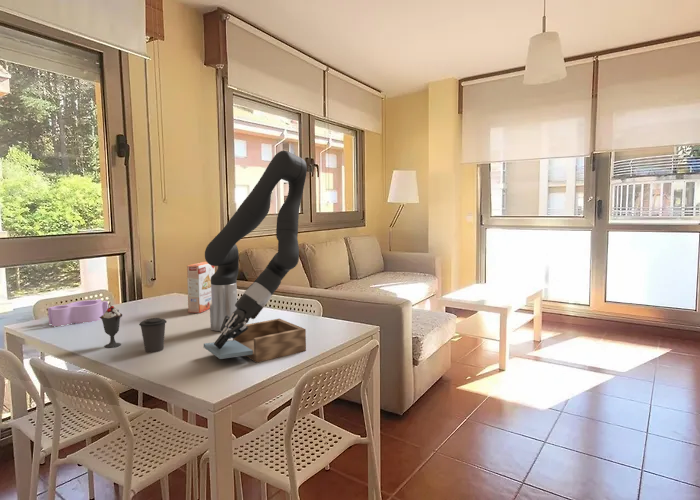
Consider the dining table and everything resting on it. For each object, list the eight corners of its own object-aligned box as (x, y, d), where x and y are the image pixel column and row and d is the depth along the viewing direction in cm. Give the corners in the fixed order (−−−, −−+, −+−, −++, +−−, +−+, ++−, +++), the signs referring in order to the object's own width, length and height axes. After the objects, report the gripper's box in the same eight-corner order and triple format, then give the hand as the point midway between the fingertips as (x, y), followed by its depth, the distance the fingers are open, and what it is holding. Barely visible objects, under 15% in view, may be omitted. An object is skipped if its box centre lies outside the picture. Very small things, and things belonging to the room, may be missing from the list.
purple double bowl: (56, 329, 167) (55, 311, 166) (45, 323, 174) (43, 306, 174) (111, 318, 182) (110, 302, 181) (99, 313, 190) (98, 298, 189)
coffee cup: (140, 355, 136) (138, 323, 135) (140, 347, 143) (139, 317, 142) (168, 351, 139) (166, 321, 138) (167, 344, 146) (166, 315, 145)
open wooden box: (279, 338, 152) (279, 318, 152) (305, 350, 139) (305, 329, 138) (233, 348, 142) (232, 327, 141) (256, 362, 129) (255, 339, 128)
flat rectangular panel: (234, 339, 140) (203, 343, 134) (252, 350, 130) (220, 354, 123) (234, 347, 140) (203, 350, 134) (252, 358, 130) (219, 362, 124)
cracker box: (200, 313, 188) (198, 265, 186) (187, 313, 190) (185, 265, 187) (216, 306, 202) (215, 261, 200) (204, 305, 203) (203, 261, 201)
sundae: (108, 350, 141) (105, 304, 139) (97, 346, 144) (94, 301, 143) (128, 344, 146) (125, 300, 145) (116, 341, 150) (114, 298, 149)
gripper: (236, 289, 139) (199, 334, 133) (255, 296, 129) (216, 345, 122) (252, 303, 143) (217, 348, 137) (271, 311, 132) (234, 359, 126)
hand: (216, 346), depth 130 cm, fingers closed
